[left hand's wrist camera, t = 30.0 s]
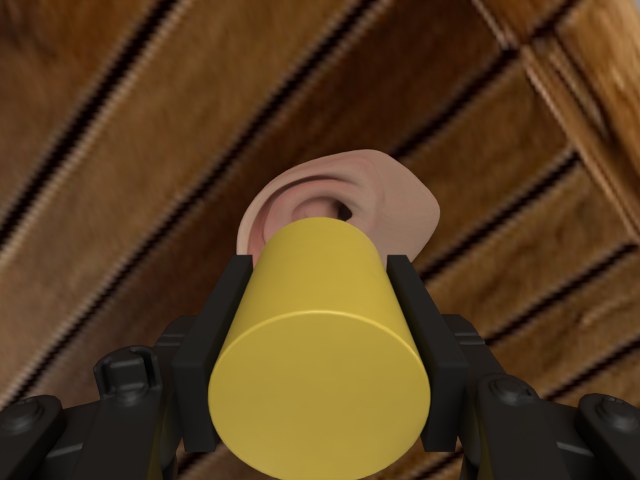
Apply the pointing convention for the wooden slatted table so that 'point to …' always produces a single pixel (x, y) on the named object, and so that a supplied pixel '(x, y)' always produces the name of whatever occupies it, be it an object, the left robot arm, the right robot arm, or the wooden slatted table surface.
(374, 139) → the wooden slatted table surface
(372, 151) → the anatomical model
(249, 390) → the cylinder
